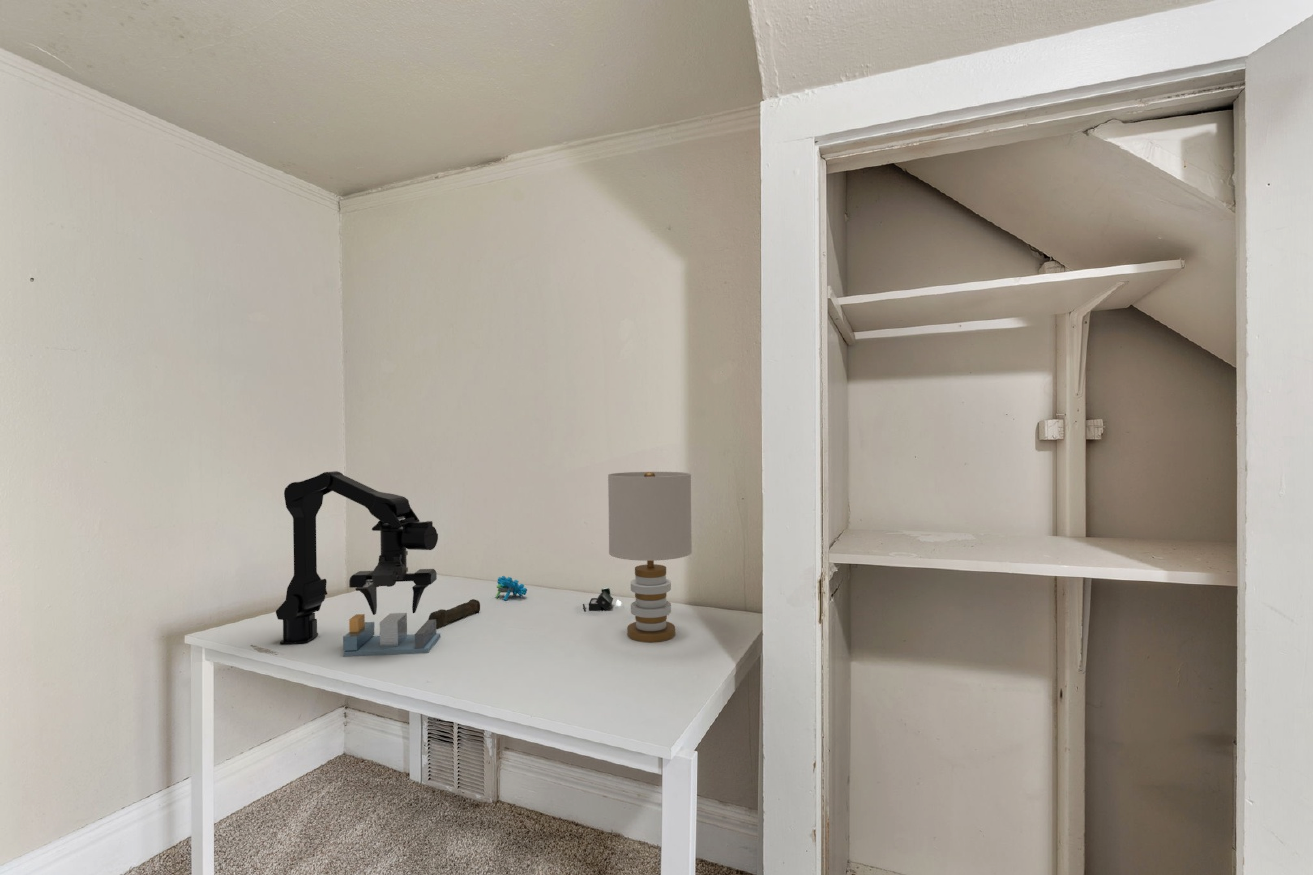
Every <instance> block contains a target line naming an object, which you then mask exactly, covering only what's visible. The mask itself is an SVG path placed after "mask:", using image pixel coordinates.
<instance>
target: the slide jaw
mask: <svg viewBox="0 0 1313 875" xmlns="http://www.w3.org/2000/svg"><path fill="white" fill-rule="evenodd" d="M365 618H366V617H365V613H363V614H362V613H361V614H355V615H353V616H352V617H350V618H348V619H349V620H348V621H349V624H348V625H349V630H348V631H349V632H347V633H346V634H345V635H344V636H342V642H343V645H342V647H343V648H342V649H343V650H342V651H343V652H344V651H349V650H358V649H359V648H360V647H361V646H362V645H363V644H364V643H366V642H367V641H368V640H369V639H370V638H371V637H372V636H375V621H367V622H366V620H365Z"/></svg>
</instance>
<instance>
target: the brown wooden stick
mask: <svg viewBox="0 0 1313 875" xmlns="http://www.w3.org/2000/svg"><path fill="white" fill-rule="evenodd" d="M480 612H481V603H480V601H479V600H478V599H475V598H474V599H473V598H472V599H470V600H468V601H467V602H464V603H461V604H459V605H456V606H454V607H452V608H449V609H441V608H440V609H438V610H435V611H432V612H430V614H429V616H428V619H427V620H436V630H438V629H441V628H443V627H447V624H449V623H451V622H454V621H456V620H459V619H461V618H464V617H466V616H469V615H472V614H473V613H474V614H476V613H477V614H479V613H480Z"/></svg>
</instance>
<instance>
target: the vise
mask: <svg viewBox="0 0 1313 875" xmlns="http://www.w3.org/2000/svg"><path fill="white" fill-rule="evenodd" d="M440 639H441V633H440V632H437V629H436V620H428V619H427V620H426V622H424V624H423V625H422V626H421V627H420V628H419V629H418V630H417V631H415V633H414V634H413V633H411V634H410V633H409V634H407V638H406V639H405V640H404V641H403V642H402V643H401V644H400V645H399V646H398V647H380V635H374V636H372V637H371V638H370V639H369V640H368V641H367V642H366V643H364V644H363V645H362V646H361V647H360V648H359V649H358V650H349V651H343V655H342V656H343V657H359V656H383V655H385V656H386V655H398V654H399V655H404V654H406V655H407V654H424V653H425V654H427V653H429V652H430V651H431V650H432V648H433V647H434V646H435V645H436V644H437V642H438V641H439V640H440Z"/></svg>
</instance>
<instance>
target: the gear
mask: <svg viewBox="0 0 1313 875" xmlns="http://www.w3.org/2000/svg"><path fill="white" fill-rule="evenodd" d="M496 584H497V585H496V588H497V594H496V595H495V599H498V598H499V596H500V594H501V593H505V595H504V597H503V599H502V600H503V601H507V600H508V598H509V597H510V594H511V593H512V595H515V596H517V595H518V596H519V597H523V596H526V595H527V592H528V589H527V588H526V587H525V585H524V584H523V583H520V584H519V580H518V579H514V580H513V578H512V577H511V576H508V577H506V576H505V575H503V576H499V577H498V578H497V582H496Z"/></svg>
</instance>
